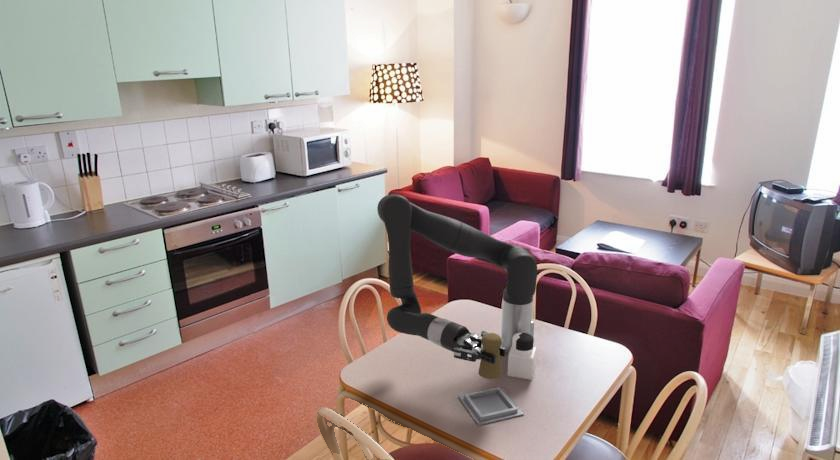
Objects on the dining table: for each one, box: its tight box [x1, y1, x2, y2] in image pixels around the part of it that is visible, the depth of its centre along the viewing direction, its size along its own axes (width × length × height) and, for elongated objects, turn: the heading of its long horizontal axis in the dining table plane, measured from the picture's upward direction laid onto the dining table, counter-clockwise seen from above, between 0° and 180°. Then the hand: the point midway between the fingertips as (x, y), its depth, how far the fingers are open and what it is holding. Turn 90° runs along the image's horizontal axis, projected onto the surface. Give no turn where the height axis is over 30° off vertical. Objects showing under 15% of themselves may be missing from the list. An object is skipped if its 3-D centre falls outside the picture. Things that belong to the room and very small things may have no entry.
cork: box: [478, 332, 502, 380], centre depth 144 cm, size 6×6×11 cm
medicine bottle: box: [507, 333, 537, 381], centre depth 162 cm, size 7×7×12 cm
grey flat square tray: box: [458, 386, 525, 427], centre depth 148 cm, size 13×13×1 cm
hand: (500, 356), depth 142 cm, fingers closed on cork, 4 cm apart
